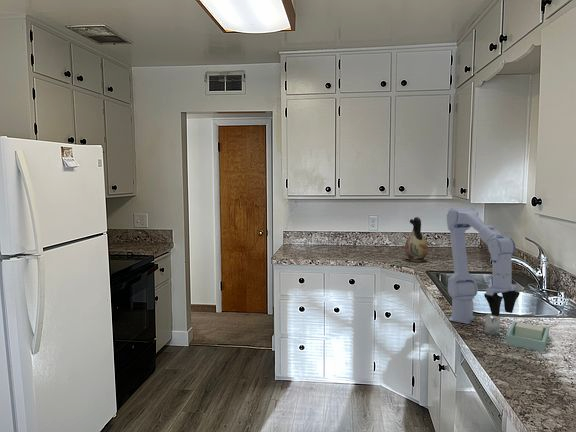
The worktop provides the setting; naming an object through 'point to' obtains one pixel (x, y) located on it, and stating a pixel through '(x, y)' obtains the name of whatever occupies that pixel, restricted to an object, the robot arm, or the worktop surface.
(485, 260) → the worktop surface
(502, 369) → the worktop surface
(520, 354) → the worktop surface
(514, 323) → the tote
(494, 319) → the tin can
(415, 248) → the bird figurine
